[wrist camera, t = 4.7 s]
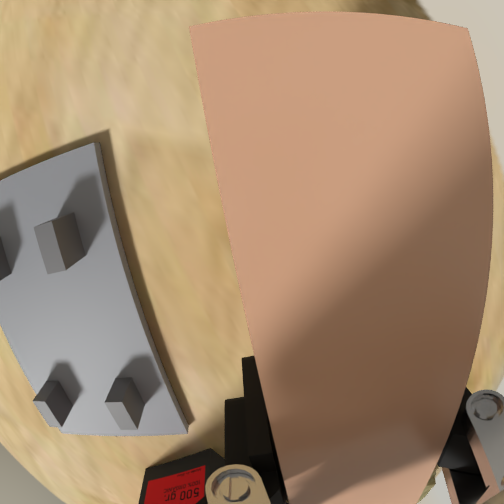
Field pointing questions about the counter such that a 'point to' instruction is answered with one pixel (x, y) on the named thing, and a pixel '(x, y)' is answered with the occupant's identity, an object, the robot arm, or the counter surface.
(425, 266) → the clay strip
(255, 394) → the robot arm
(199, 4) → the counter surface
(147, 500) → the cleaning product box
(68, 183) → the grey plate with pegs
